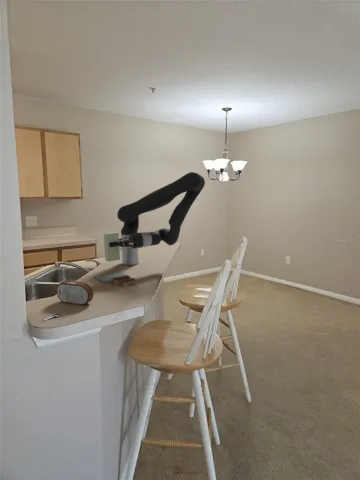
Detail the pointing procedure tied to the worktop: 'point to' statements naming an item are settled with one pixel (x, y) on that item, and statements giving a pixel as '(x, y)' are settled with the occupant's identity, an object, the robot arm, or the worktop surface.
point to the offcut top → (128, 283)
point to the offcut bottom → (128, 286)
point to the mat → (107, 277)
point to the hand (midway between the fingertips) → (108, 244)
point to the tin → (74, 292)
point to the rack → (120, 280)
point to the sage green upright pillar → (111, 252)
